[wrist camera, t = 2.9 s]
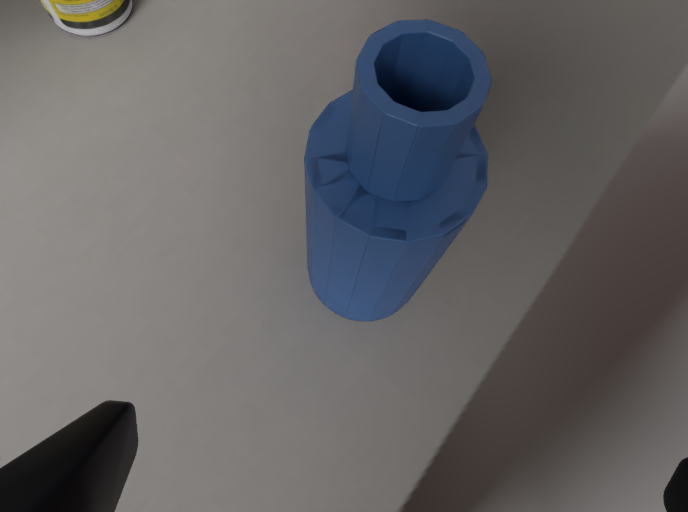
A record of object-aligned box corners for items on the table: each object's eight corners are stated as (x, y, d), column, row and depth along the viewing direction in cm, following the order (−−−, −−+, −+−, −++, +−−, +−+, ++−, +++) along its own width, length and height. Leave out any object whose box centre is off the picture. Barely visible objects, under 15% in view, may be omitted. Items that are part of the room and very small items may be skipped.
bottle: (439, 279, 23) (592, 95, 10) (353, 344, 22) (410, 223, 9) (371, 200, 24) (435, -48, 12) (287, 256, 23) (255, 43, 10)
